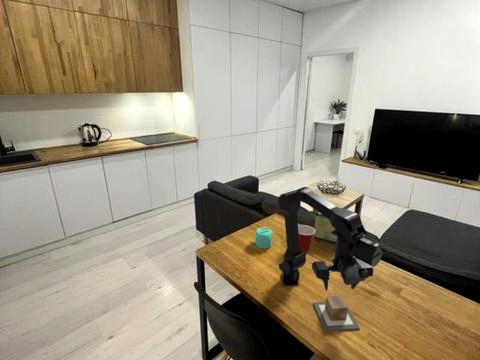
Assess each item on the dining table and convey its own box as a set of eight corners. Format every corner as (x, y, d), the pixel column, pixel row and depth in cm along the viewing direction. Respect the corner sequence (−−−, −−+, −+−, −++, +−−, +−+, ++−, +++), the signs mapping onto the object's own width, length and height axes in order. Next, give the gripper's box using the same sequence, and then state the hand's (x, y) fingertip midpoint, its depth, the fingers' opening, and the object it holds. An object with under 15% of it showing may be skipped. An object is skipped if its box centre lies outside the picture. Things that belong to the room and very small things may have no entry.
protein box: (318, 230, 150) (320, 205, 145) (346, 237, 142) (350, 211, 137) (313, 238, 141) (315, 212, 136) (343, 246, 134) (346, 219, 129)
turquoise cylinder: (255, 247, 133) (255, 234, 131) (257, 239, 141) (257, 226, 138) (270, 249, 132) (271, 235, 129) (272, 241, 139) (272, 228, 137)
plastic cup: (316, 247, 133) (318, 226, 129) (309, 258, 124) (311, 236, 121) (296, 241, 139) (297, 221, 135) (288, 251, 130) (289, 230, 126)
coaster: (324, 331, 87) (324, 329, 87) (313, 303, 98) (313, 302, 98) (359, 329, 87) (359, 327, 87) (344, 301, 99) (344, 300, 99)
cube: (330, 321, 90) (332, 308, 88) (324, 308, 95) (326, 296, 93) (346, 320, 90) (348, 307, 88) (339, 307, 95) (341, 295, 94)
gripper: (325, 267, 76) (320, 309, 81) (387, 264, 77) (378, 306, 82) (313, 245, 86) (309, 284, 91) (367, 243, 87) (361, 281, 92)
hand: (339, 289), depth 89 cm, fingers open, 9 cm apart
